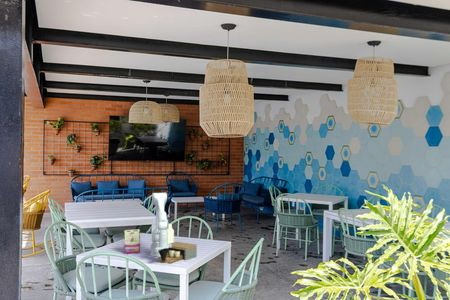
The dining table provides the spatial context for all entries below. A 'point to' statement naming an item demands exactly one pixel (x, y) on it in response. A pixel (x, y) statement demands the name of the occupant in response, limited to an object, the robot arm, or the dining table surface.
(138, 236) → the candy bar box
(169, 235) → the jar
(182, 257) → the tray
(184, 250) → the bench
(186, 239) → the dining table surface
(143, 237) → the dining table surface
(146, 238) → the dining table surface
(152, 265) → the dining table surface
